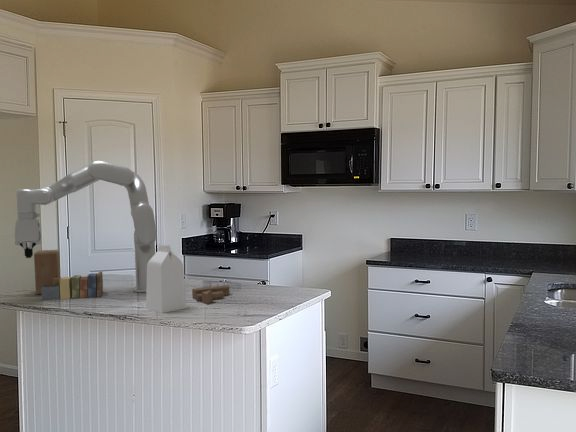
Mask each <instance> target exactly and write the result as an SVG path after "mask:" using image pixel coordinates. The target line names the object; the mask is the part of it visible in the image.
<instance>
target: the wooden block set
mask: <svg viewBox="0 0 576 432" xmlns="http://www.w3.org/2000/svg"><path fill="white" fill-rule="evenodd" d="M191 292H192V293H191V295H192V299H194V300H196V302H201V303H202V304H205V305H210V304H211V303H212V302H213V300H220V299H224V297H227V296H229V295H230V285H219V286H205V287H195V288H192V290H191Z"/></svg>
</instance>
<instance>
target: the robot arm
mask: <svg viewBox="0 0 576 432" xmlns="http://www.w3.org/2000/svg"><path fill="white" fill-rule="evenodd" d="M98 181H103V182H108V183H111V184H115V185H118V186H121V187H124V188H125V190H126V191H127V194H128V195H127V196H128V199H129V205H130V215H131V218H132V220H133V221H132V222H133V227H134V231H133V232H134V233H133V242H134V243H133V245H134V263H135V265H134V266H135V267H134V268H135V287H133V288H132V292H135V293H146V292H147V264H148V262H149V260H150V259H151V258H152V257H153V256H154V255H155V253H156V243H155V242H156V240H157V239H158V234H157V233H158V232H157V226H156V225H157V224H156V222H155V221H156V220H155V215H154V210H153V208H152V206H151V205H150V201H149V197H148V192H147V188H146V185H145V183H144V181H143V179H142V177H141V176H139V174H137V172H135V171H133V170H131V169H130V168H129V167H126V166H123V165H118V164H114V163H110V162H107V161H104V160H101V159H100V160H98V159H97V160H94V161H92V162H91V163H89V164H87V165H84V166H82V167H81V168H78V169H76V170H74V171H72V172H70V173H68V174H66V175H65V176H64V177H63V178H60V179H59V180H58V181H56V182H52V183H51V184H49V185H48V186H47V185H46V186H45V187H42V188H35V189H33V188H19V189H17V190H16V209H17V211H16V213H17V220H15V223H14V224H15V225H14V245H16V246H20V247H22V249H23V250H24V257H25V259H30V258H32V257H34V252H33V249H34V247H35V246H37V245H41V244H42V241H41V240H42V231H41V225H40V221H39V219H38V217H40V213H38V212H37V205H40V206H46V205H50V204H51V203H53V202H56V201H58V200H59V199H61V198H64V197H66V196H68V195H70V194H72V193H76V192H79V191H80V190H82V189H85V188H86V187H88V186H90V185H92V184H94V183H96V182H98ZM28 243H29V244H28Z"/></svg>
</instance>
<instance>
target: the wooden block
mask: <svg viewBox="0 0 576 432" xmlns="http://www.w3.org/2000/svg"><path fill="white" fill-rule="evenodd" d="M33 260H34V261H33V262H34V264H33V265H34V281H35V283H34V284H35V285H34V286H35V294H36V295H39V294H40V295H42V293H41V287H42V286H44V285H53V278H61V259H60V251H59V249H45V250H44V249H43V250H37V251H36V252H33Z"/></svg>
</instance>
